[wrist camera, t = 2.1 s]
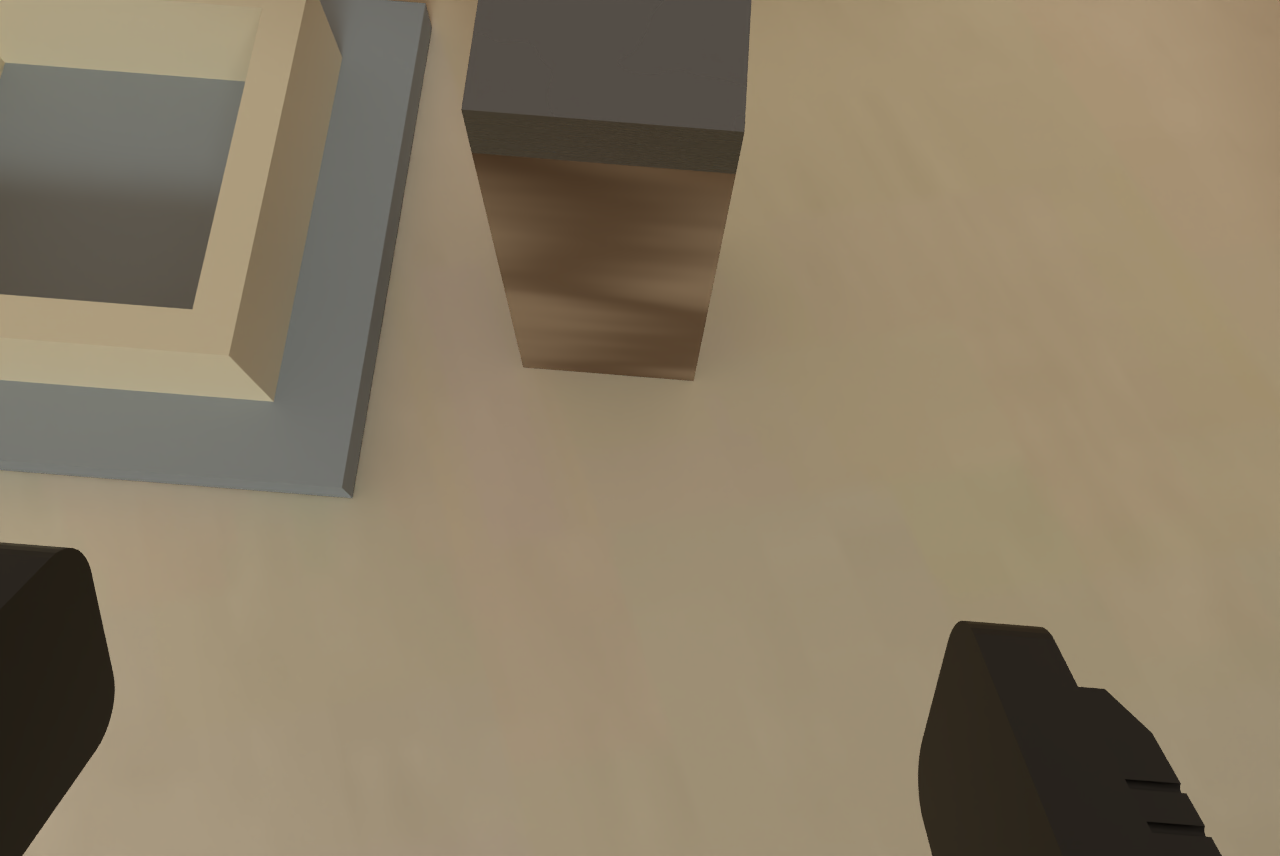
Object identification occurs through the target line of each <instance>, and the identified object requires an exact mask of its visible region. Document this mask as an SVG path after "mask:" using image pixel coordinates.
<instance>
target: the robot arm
mask: <svg viewBox="0 0 1280 856" xmlns="http://www.w3.org/2000/svg"><path fill="white" fill-rule="evenodd" d="M114 692H115V686H114V676H113V671H112V666H111V661H110V657H109V652H108V647H107V643H106V638H105V634H104V629H103V624H102V620H101V615H100V610H99V606H98V601H97V596H96V592H95V587H94V582H93V578H92V573H91V569H90V566H89V563H88V561H87V559H86V558H85V556H84V555H83V554H82V553H81V552H80V551H79V550H76V549H74V548H64V547H51V546H39V545H26V544H13V543H1V542H0V856H22V855H23V854H24V852H25V851H26V850H27V848H28V847H29V845H30V844H31V842H32V841H33V840H34V838H35V837H36V835H37V834H38V832H39V831H40V830H41V828H42V827H43V825H44V824H45V822H46V821H47V820H48V818H49V817H50V815H51V814H52V812H53V811H54V810H55V808H56V807H57V805H58V804H59V802H60V801H61V800H62V798H63V797H64V795H65V794H66V792H67V791H68V789H69V788H70V787H71V785H72V784H73V782H74V781H75V779H76V778H77V777H78V775H79V774H80V772H81V771H82V769H83V768H84V767H85V765H86V764H87V762H88V761H89V759H90V758H91V757H92V755H93V754H94V752H95V751H96V749H97V748H98V746H99V744H100V743H101V741H102V739H103V737H104V735H105V732H106V730H107V727H108V724H109V721H110V718H111V713H112V709H113V703H114ZM1180 784H1181V783H1180V782H1179V780H1178V778H1177V776H1176V774H1175V773H1174V771H1173V769H1172V767H1171V766H1170V764H1169V762H1168V760H1167V759H1166V757H1165V755H1164V753H1163V752H1162V750H1161V748H1160V746H1159V745H1158V743H1157V741H1156V739H1155V738H1154V736H1153V734H1152V733H1151V732H1150V731H1149V730H1148V729H1147V728H1146V727H1145V726H1144V725H1143V724H1142V723H1141V722H1139V721H1138V720H1137V719H1136V718H1135V717H1134V716H1133V715H1132V714H1131V713H1130V712H1129V711H1128V710H1127V709H1126V708H1124V707H1123V706H1122V705H1121V704H1120V703H1119V702H1118V701H1117V700H1116V699H1115V698H1114V697H1113V696H1112V695H1110V694H1109V693H1108V692H1107V691H1106V690H1105V689H1098V688H1085V687H1078V686H1077V684H1076V682H1075V680H1074V678H1073V676H1072V674H1071V672H1070V670H1069V668H1068V666H1067V664H1066V662H1065V660H1064V658H1063V656H1062V654H1061V652H1060V650H1059V648H1058V646H1057V644H1056V642H1055V640H1054V639H1053V637H1052V635H1051V634H1050V633H1049V632H1048V631H1047V630H1046V629H1045V628H1043V627H1034V626H1021V625H1009V624H996V623H983V622H971V621H960V622H958V623H957V624H956V625H955V626H954V628H953V629H952V632H951V634H950V637H949V640H948V644H947V647H946V651H945V655H944V659H943V663H942V667H941V670H940V674H939V678H938V682H937V686H936V690H935V693H934V697H933V701H932V705H931V709H930V713H929V717H928V720H927V724H926V728H925V732H924V736H923V740H922V744H921V749H920V756H919V768H918V787H919V800H920V807H921V813H922V817H923V821H924V825H925V829H926V833H927V837H928V840H929V844H930V848H931V852H932V856H1222V855H1221V854H1220V852H1219V850H1218V848H1217V847H1216V845H1215V843H1214V841H1213V840H1212V838H1211V837H1206V836H1205V833H1204V827H1205V826H1204V824H1203V822H1202V820H1201V818H1200V817H1199V815H1198V813H1197V811H1196V810H1195V808H1194V806H1193V804H1192V803H1191V801H1190V799H1189V797H1188V796H1187V794H1185V793H1181V791H1180Z"/></svg>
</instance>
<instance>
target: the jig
mask: <svg viewBox="0 0 1280 856" xmlns="http://www.w3.org/2000/svg"><path fill="white" fill-rule="evenodd" d="M431 29H432V27H431V23H430V19H429V15H428V11H427V7H426V3H415V2H403V1H390V0H0V470H9V471H21V472H34V473H46V474H59V475H71V476H84V477H96V478H109V479H121V480H134V481H146V482H159V483H171V484H184V485H196V486H209V487H221V488H234V489H246V490H259V491H271V492H284V493H296V494H308V495H321V496H333V497H346V498H352V497H353V491H354V485H355V479H356V473H357V467H358V462H359V456H360V450H361V444H362V438H363V432H364V426H365V420H366V414H367V408H368V402H369V396H370V391H371V385H372V379H373V373H374V367H375V361H376V355H377V349H378V343H379V337H380V331H381V325H382V319H383V314H384V308H385V302H386V296H387V290H388V284H389V278H390V272H391V266H392V260H393V254H394V248H395V243H396V237H397V231H398V225H399V219H400V213H401V207H402V201H403V195H404V189H405V183H406V177H407V171H408V166H409V160H410V154H411V148H412V142H413V136H414V130H415V124H416V118H417V112H418V106H419V100H420V95H421V89H422V83H423V77H424V71H425V65H426V59H427V53H428V47H429V41H430V35H431Z"/></svg>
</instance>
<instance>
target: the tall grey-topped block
mask: <svg viewBox="0 0 1280 856" xmlns="http://www.w3.org/2000/svg"><path fill="white" fill-rule="evenodd" d="M750 15H751V0H478V5H477V12H476V18H475V25H474V31H473V38H472V44H471V51H470V57H469V64H468V70H467V77H466V83H465V90H464V96H463V103H462V109H461V110H462V114H463V118H464V122H465V126H466V130H467V135H468V139H469V143H470V147H471V151H472V155H473V160H474V164H475V168H476V172H477V176H478V180H479V184H480V189H481V193H482V197H483V201H484V205H485V209H486V214H487V218H488V222H489V226H490V230H491V234H492V239H493V243H494V247H495V251H496V255H497V259H498V264H499V268H500V272H501V276H502V280H503V284H504V288H505V293H506V297H507V301H508V305H509V309H510V313H511V318H512V322H513V326H514V330H515V334H516V338H517V343H518V347H519V351H520V355H521V359H522V363H523V367H527V368H540V369H552V370H565V371H577V372H590V373H602V374H615V375H627V376H640V377H652V378H665V379H677V380H690V381H694V376H695V371H696V366H697V361H698V356H699V351H700V346H701V342H702V337H703V332H704V327H705V322H706V317H707V312H708V307H709V302H710V297H711V293H712V288H713V283H714V278H715V273H716V268H717V263H718V258H719V253H720V248H721V244H722V239H723V234H724V229H725V224H726V219H727V214H728V209H729V204H730V199H731V195H732V190H733V185H734V180H735V175H736V170H737V165H738V160H739V155H740V150H741V146H742V141H743V136H744V128H745V109H746V90H747V71H748V52H749V34H750Z"/></svg>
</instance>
